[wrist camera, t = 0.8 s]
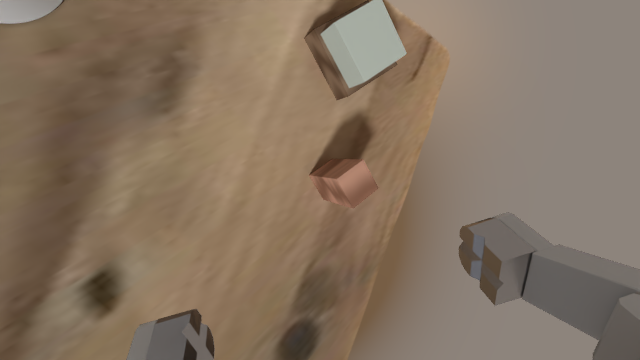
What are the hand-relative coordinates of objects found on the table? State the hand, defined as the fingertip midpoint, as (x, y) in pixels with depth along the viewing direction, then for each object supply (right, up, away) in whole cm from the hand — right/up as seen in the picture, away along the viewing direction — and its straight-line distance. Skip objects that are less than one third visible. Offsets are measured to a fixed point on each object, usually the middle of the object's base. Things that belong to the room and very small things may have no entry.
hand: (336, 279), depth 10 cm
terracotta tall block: (+1, +3, +44) cm, 44 cm away
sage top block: (+5, +24, +40) cm, 47 cm away
